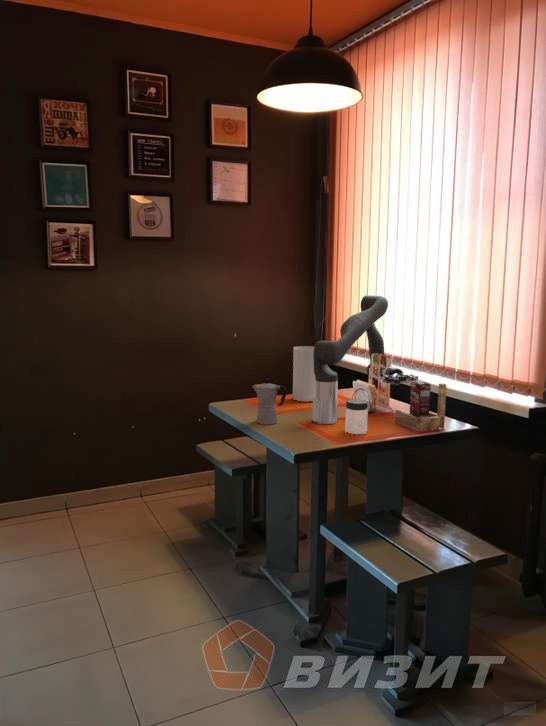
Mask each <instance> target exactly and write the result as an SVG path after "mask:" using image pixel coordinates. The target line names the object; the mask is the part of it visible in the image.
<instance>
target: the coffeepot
mask: <svg viewBox="0 0 546 726" xmlns="http://www.w3.org/2000/svg"><path fill="white" fill-rule="evenodd" d="M269 381H270V380H269V378H264V382H265V383H259V384H253V385H252V386H251V387H252V388H253V389H254V391H255V393H256V397H257V403H258V408H257V412H256V414H257V415H256V420H255V423H256V424H258V423H260V424H259V425H262V424H271V425H275V424H274V423H276V424H277V423H278V417H277V409H276V400H277V395H278V391H282V394H281V398H280V403H279V402H278V403H277V406H279V407H280V406H284V402H285V400H286V397H287V394H288V389H287V388H286V387H285V385H279V384H278V385H277V384H273V383H270V382H269Z"/></svg>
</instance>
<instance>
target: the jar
mask: <svg viewBox="0 0 546 726" xmlns="http://www.w3.org/2000/svg"><path fill="white" fill-rule="evenodd" d="M345 403H346V404H345V405H346V407H345V419H344V420H345V421H344V422H345V423H344V424H345V426H344V432H345V433H347V432H348V433H347V434H350V433H352V435H354V434H355V435H365V434H366V433H367V431H368V418H369V417H368V413H369V410H368V409H369V408H368V405H369V404H368V401H367V400H366V399H359V398H353V399H348V400H346V402H345Z"/></svg>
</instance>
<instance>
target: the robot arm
mask: <svg viewBox="0 0 546 726" xmlns="http://www.w3.org/2000/svg"><path fill="white" fill-rule="evenodd" d="M388 307H389V301H388V299H387V298H386V297H385V296H383V295H374V294H373V295H371V294H369V295H367V294H366V295H363V297H362V298H361V300H360V312H357V313H355V314H352V315H351V316H349V317H348V318H347V319H346V320H345V321H344V322H343V323H342V324H341V326H340V330H339V331H340V332H339V333H340V338H339V339H337V340H335V341H333V340H332V341H331V340H319V341H317V342H316V343H315V345H314V346H313V347H314V352H313V359H314V374H315V398H313V402H312V416H311V417H312V421H313V422H315V423H316V422H317V423H316V424H319V425H331V424H332V425H333V424H335V423H337V421H338V391H339V390H338V387H339V385H338V384H339V383H338V382H339V381H338V380H339V375H338V373H337V372H336V371H334V370H332V369H331V368H330V367H329V365H333V366H334V365H337V364H339V363H340V362H341V361H342V360H343V358H344V357H345V356H346V355H347V353H348V351H349V350H350V348H351V347H353V345H354V344H355V343H356V342H357V341H358V340H359V339H360V338H361V337H362V335H364V334H365V333H366V336H367V347H368V354H369V358H370V359H371V355H372V354H373V353H378V354H383V355H385V356H386V354H385V347H384V345H385V344H384V339H383V336H382V335H381V333H380V331H379V330H378V327H376V324H375V323H376V322H377V321H378V320H380V319H381V318H382V317H384V315H385V314H386V312H387V310H388ZM370 364H371V363H369V364H368V365H367V367H366V374H367V375H368V377H369V368H370ZM390 366H391V365H390ZM382 374H383V380H382V381H383V382H385V383H386V384H390V385H392V386H399V385H401V384H402V383H406V384H411V380H419V376H418V375H414V374H405V373H404V372H403V370H402V369H400V368H397V367H396V366H391V367H389V368H388V369H384V370H383V373H382Z"/></svg>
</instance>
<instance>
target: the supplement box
mask: <svg viewBox="0 0 546 726" xmlns="http://www.w3.org/2000/svg"><path fill="white" fill-rule="evenodd" d="M430 401H431V383H429V382H427V381H424V380H422V379H418V380H411V382H410V396H409V414H411V415H413V416H416V417H418V418H426V417H429V411H430V403H431V402H430Z"/></svg>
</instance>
